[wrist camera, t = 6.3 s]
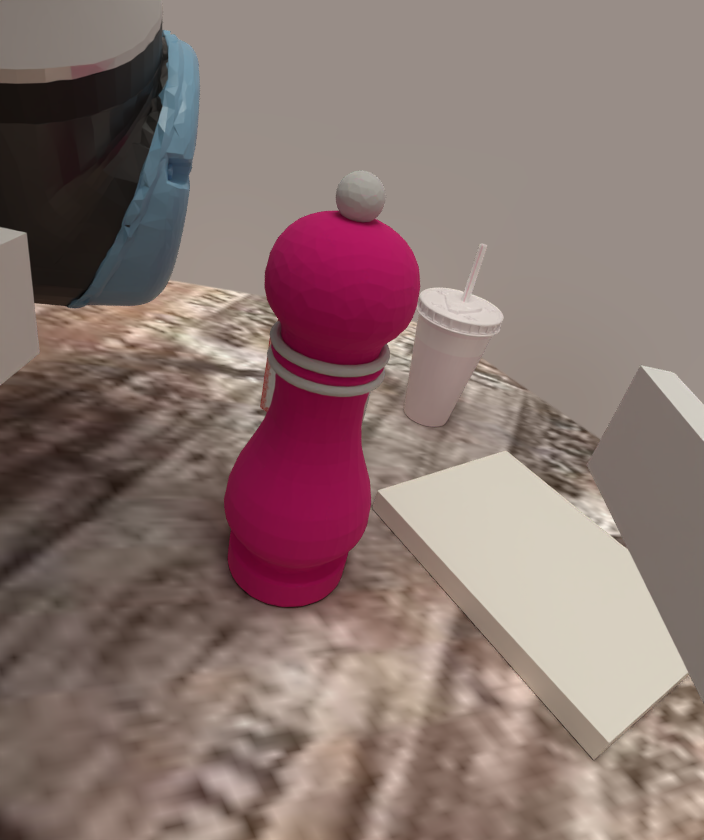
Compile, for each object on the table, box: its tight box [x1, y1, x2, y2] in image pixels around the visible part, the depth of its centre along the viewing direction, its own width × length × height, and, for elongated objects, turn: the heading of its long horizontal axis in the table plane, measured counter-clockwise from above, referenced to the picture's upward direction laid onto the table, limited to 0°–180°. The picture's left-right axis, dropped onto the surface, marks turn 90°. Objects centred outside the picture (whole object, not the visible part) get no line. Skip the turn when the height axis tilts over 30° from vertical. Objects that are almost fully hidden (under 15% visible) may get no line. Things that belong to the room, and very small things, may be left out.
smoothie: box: [404, 244, 503, 427], centre depth 42 cm, size 6×6×14 cm
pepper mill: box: [224, 171, 420, 607], centre depth 25 cm, size 7×7×20 cm
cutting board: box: [372, 451, 689, 760], centre depth 33 cm, size 17×12×2 cm
